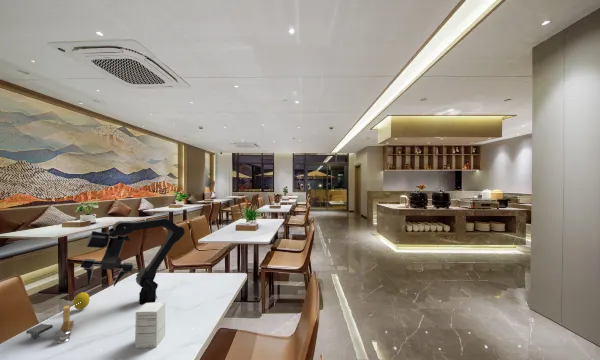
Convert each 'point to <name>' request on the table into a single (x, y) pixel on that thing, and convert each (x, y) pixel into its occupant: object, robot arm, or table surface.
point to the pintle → (63, 336)
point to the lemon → (81, 300)
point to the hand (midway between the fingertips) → (101, 285)
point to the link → (67, 319)
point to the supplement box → (150, 325)
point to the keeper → (38, 330)
